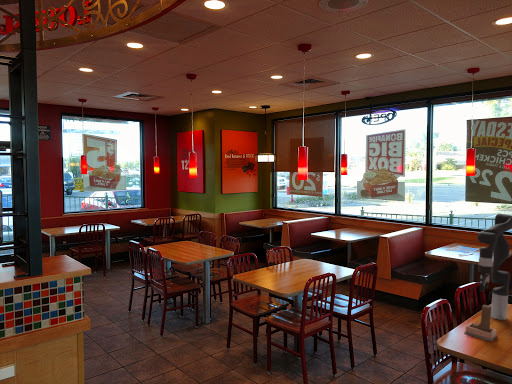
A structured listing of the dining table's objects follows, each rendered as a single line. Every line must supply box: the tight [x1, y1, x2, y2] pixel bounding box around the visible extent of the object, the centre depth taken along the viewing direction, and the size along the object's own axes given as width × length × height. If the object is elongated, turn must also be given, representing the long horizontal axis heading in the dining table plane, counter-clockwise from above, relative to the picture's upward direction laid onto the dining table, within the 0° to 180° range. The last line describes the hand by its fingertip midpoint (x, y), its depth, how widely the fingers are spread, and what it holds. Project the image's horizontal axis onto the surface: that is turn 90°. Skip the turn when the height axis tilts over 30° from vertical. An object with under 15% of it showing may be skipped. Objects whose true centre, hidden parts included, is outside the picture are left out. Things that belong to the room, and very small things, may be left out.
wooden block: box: [472, 304, 492, 332], centre depth 239 cm, size 9×4×18 cm, turn 50°
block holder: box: [464, 322, 498, 343], centre depth 239 cm, size 12×15×4 cm
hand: (483, 290), depth 237 cm, fingers open, 8 cm apart
